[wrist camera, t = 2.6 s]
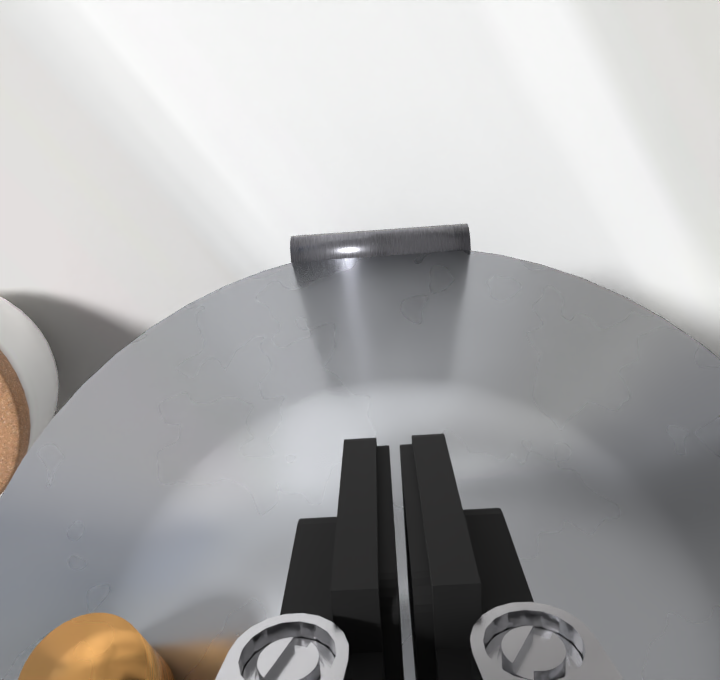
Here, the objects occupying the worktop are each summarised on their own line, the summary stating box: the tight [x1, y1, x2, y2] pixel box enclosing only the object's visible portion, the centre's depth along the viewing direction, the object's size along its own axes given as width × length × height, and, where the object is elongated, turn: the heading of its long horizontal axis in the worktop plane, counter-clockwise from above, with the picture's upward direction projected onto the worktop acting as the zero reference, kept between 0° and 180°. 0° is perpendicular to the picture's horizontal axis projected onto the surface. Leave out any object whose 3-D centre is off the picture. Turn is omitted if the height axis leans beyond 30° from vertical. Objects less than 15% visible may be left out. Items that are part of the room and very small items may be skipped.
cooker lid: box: [0, 224, 720, 680], centre depth 14 cm, size 27×21×3 cm
